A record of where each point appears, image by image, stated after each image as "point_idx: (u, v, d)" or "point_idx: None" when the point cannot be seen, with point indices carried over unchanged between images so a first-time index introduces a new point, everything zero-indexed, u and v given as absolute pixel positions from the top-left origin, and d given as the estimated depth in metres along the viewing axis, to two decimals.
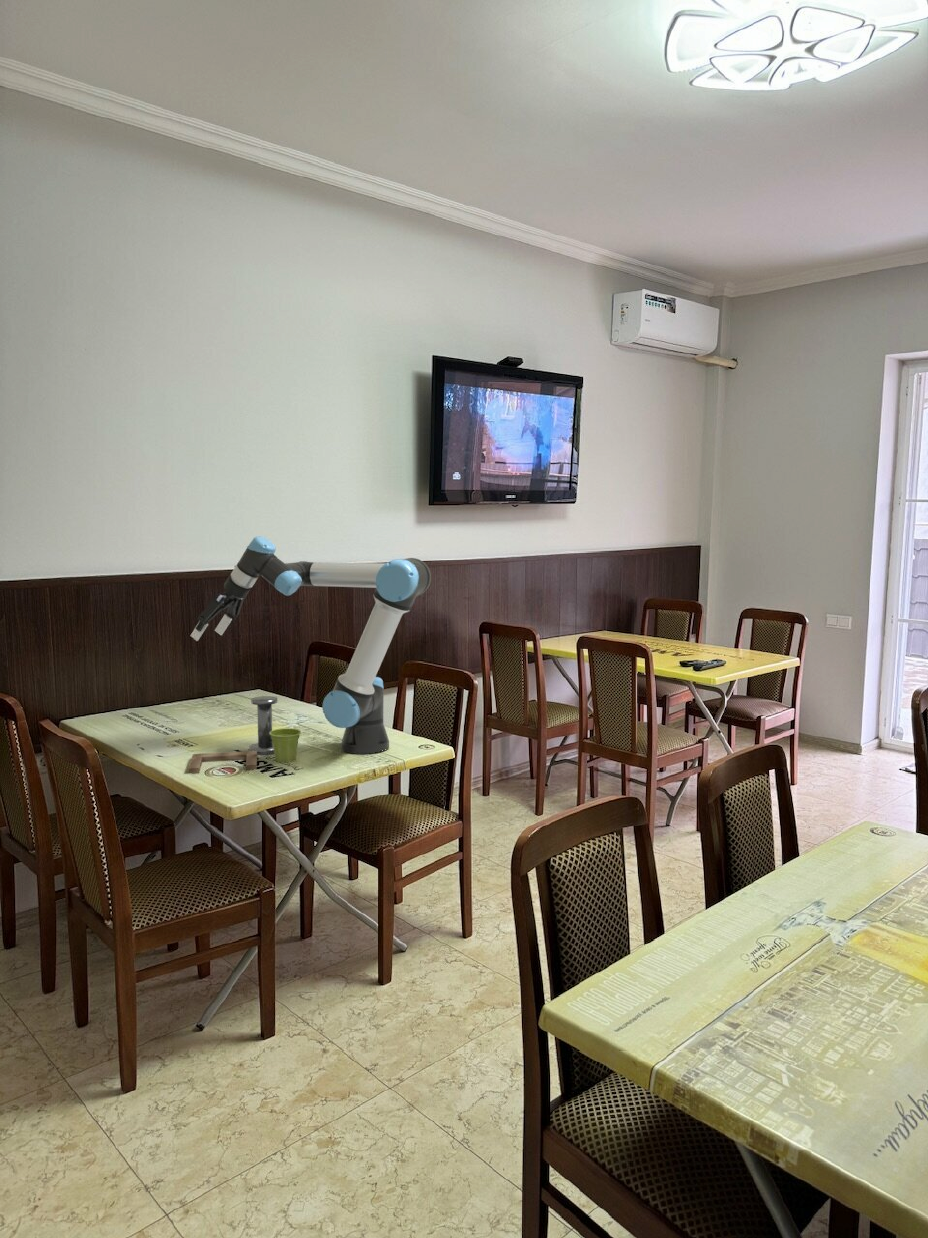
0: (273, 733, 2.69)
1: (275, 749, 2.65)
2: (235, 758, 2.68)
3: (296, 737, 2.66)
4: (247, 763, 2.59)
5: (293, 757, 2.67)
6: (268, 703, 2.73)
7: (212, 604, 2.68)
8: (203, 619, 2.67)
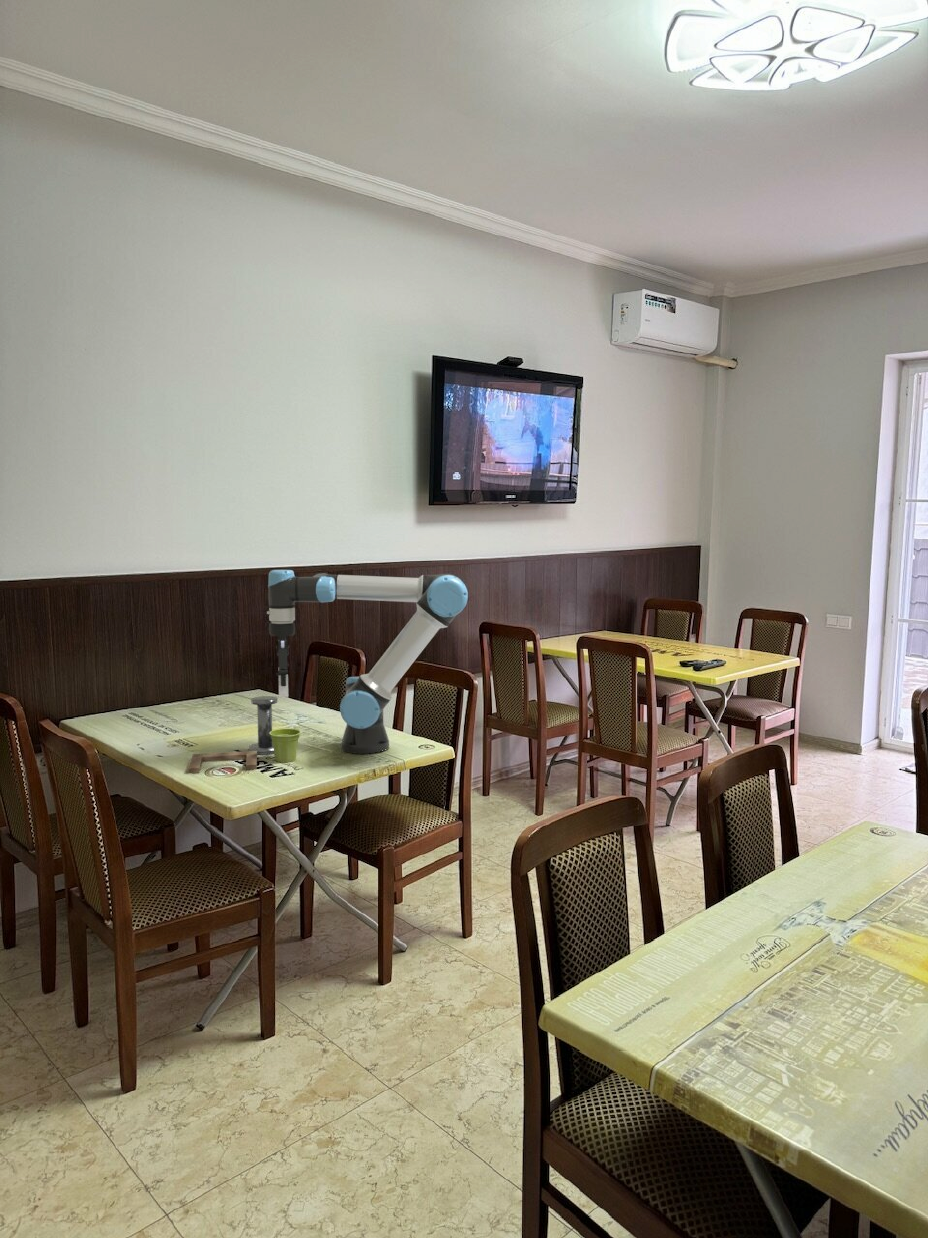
0: (273, 733, 2.69)
1: (275, 749, 2.65)
2: (235, 758, 2.68)
3: (296, 737, 2.66)
4: (247, 763, 2.59)
5: (293, 757, 2.67)
6: (268, 703, 2.73)
7: (281, 653, 2.57)
8: (285, 670, 2.56)
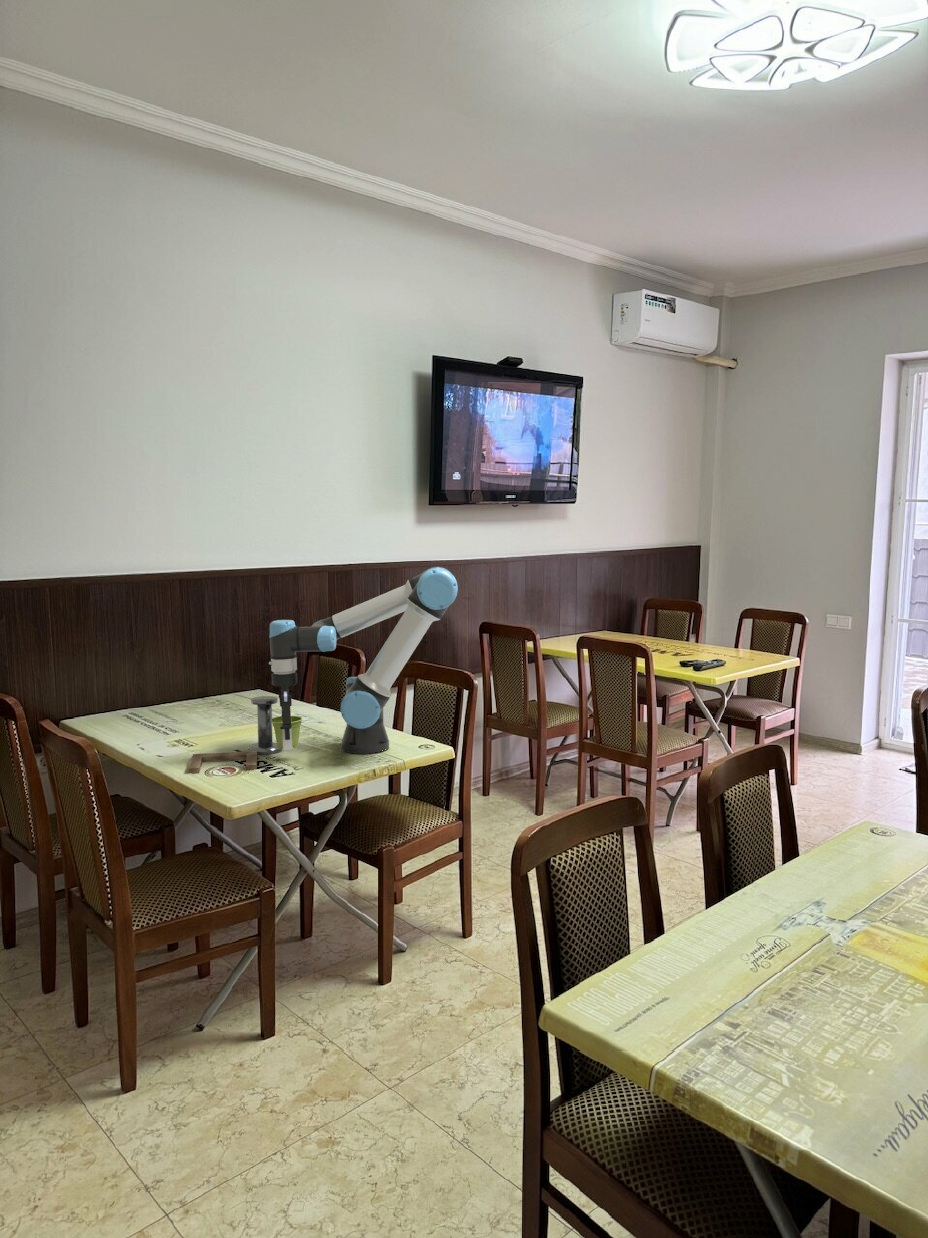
0: (275, 720, 2.69)
1: (277, 736, 2.65)
2: (235, 758, 2.68)
3: (298, 723, 2.65)
4: (247, 763, 2.59)
5: (295, 744, 2.66)
6: (268, 703, 2.73)
7: (284, 707, 2.60)
8: (289, 724, 2.60)
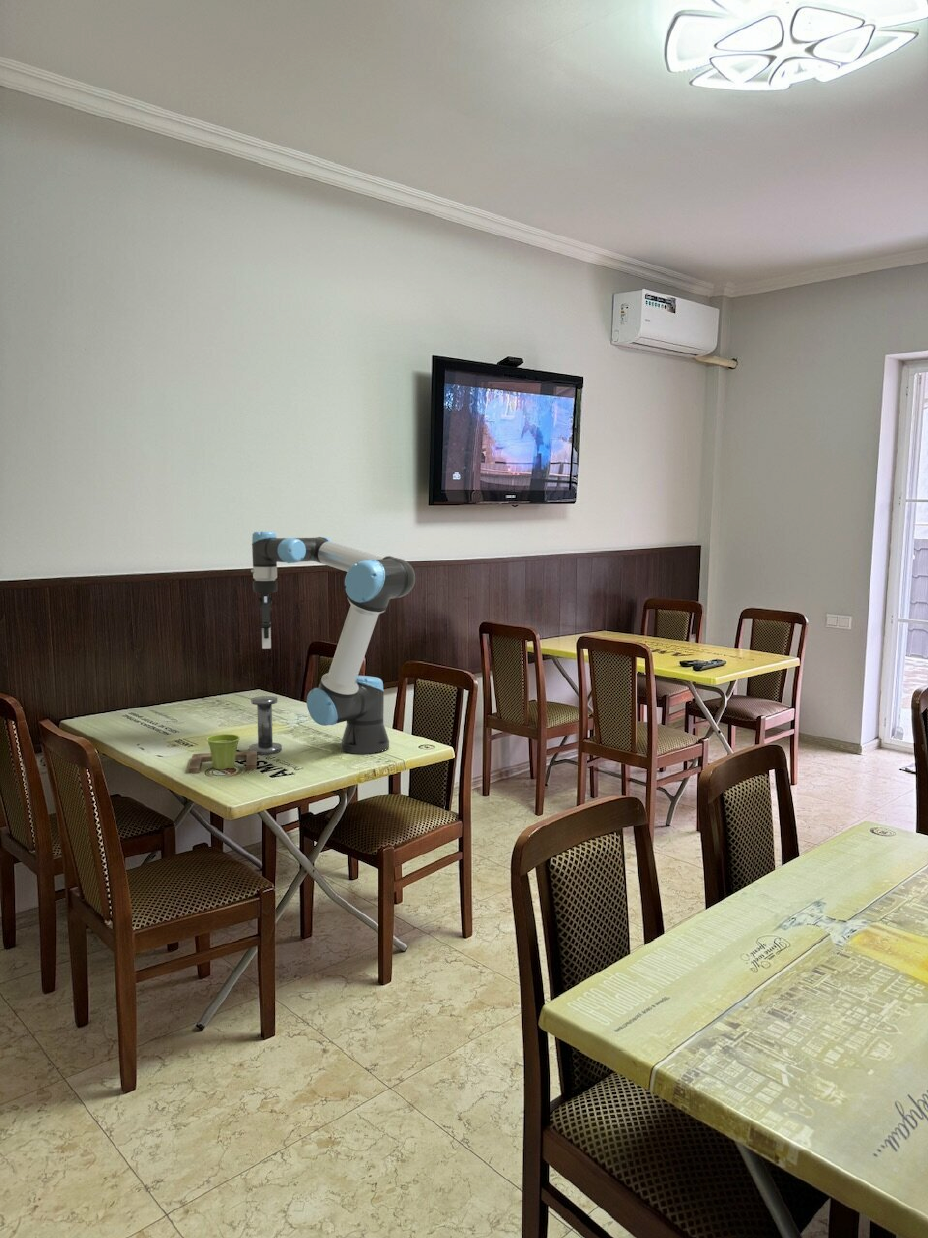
0: (211, 739, 2.62)
1: (212, 756, 2.58)
2: (235, 758, 2.68)
3: (234, 743, 2.58)
4: (247, 763, 2.59)
5: (231, 764, 2.59)
6: (268, 703, 2.73)
7: (264, 608, 2.78)
8: (268, 623, 2.77)
